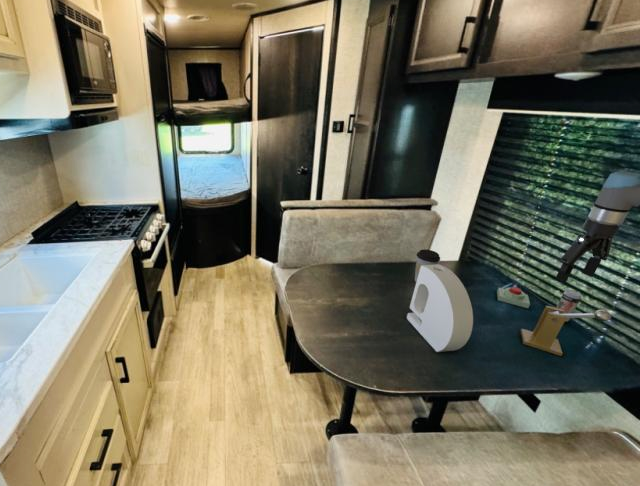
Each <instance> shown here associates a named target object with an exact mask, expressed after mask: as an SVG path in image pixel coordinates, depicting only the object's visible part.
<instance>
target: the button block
mask: <svg viewBox="0 0 640 486" xmlns="http://www.w3.org/2000/svg"><path fill="white" fill-rule="evenodd" d="M510 289H511V287H505V288H503V287H498V288H497V290H496V295H497V296H496V297H497V301H499V302H503V303H507V304H510V305H514V306H518V307H521V308H525V309H529V307H530V305H531V302H530V297H529V295H528V294H526V293H525V292H524V291H522V292H521V294H520V295H517V294H513V293H511V292H510Z"/></svg>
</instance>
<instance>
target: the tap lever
mask: <svg viewBox="0 0 640 486" xmlns="http://www.w3.org/2000/svg"><path fill="white" fill-rule="evenodd" d="M548 312H552V313H555V314H559V311H547V313H548ZM559 315H563V316H566V318H570V319H596V320H598V321H600V322H608V321H610V320H612V314H611V313H610V312H609V311H607V310H605V309H597V310H595V311H594V313H593V312H592V313H590V312H589V313H588V312H587V313H573V314H559Z"/></svg>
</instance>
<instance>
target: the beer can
mask: <svg viewBox="0 0 640 486" xmlns="http://www.w3.org/2000/svg"><path fill="white" fill-rule="evenodd" d="M581 300H582V296H581V293H579V292H577V291H574V290H572V289H567V290H565V291H563V293H562V295H561V297H560V299H559V301H558V302H557V305H556V307H555V308H557V309H561V310H564V312H563V314H574V313H575V311H576V308H577V307H578V305H579V304H580V301H581ZM570 320H571V318H566V320H565V322H569V321H570Z"/></svg>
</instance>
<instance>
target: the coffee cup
mask: <svg viewBox="0 0 640 486" xmlns="http://www.w3.org/2000/svg"><path fill="white" fill-rule="evenodd" d="M416 257H417V259H416V263H415V273H414V282H415V283H416V282H417V278H418V275H419V271H420V267H421V265H436V264H439V263H438V262H440V261H441V256H440V254H439V253H438V252H437V251H434V250H432V249H425V248H424V249H423V248H422V249H420V250H419V251H417V253H416Z"/></svg>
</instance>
